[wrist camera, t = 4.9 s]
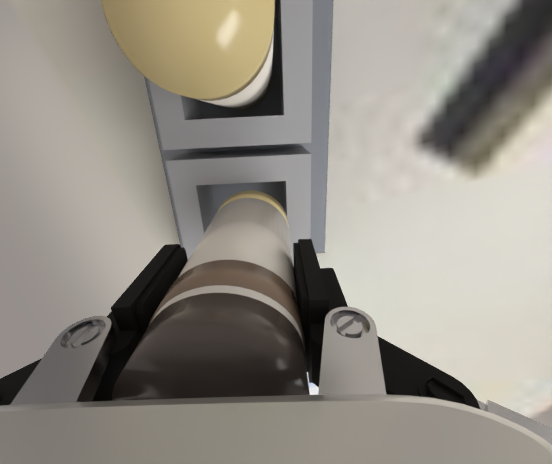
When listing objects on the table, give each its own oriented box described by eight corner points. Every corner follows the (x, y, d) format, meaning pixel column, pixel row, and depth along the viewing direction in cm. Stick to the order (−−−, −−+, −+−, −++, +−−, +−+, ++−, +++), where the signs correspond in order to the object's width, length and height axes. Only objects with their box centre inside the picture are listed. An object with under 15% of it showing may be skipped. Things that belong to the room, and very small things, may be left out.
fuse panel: (327, -9, 17) (354, -72, 11) (320, 242, 24) (335, 279, 18) (141, 0, 17) (77, -58, 11) (190, 248, 24) (166, 287, 18)
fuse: (270, 28, 16) (270, -133, 6) (273, 108, 18) (278, 93, 7) (197, 31, 16) (69, -123, 6) (208, 111, 18) (125, 101, 7)
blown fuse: (287, 187, 15) (315, 335, 5) (289, 256, 17) (312, 465, 7) (210, 191, 15) (78, 343, 5) (220, 258, 17) (140, 470, 7)
